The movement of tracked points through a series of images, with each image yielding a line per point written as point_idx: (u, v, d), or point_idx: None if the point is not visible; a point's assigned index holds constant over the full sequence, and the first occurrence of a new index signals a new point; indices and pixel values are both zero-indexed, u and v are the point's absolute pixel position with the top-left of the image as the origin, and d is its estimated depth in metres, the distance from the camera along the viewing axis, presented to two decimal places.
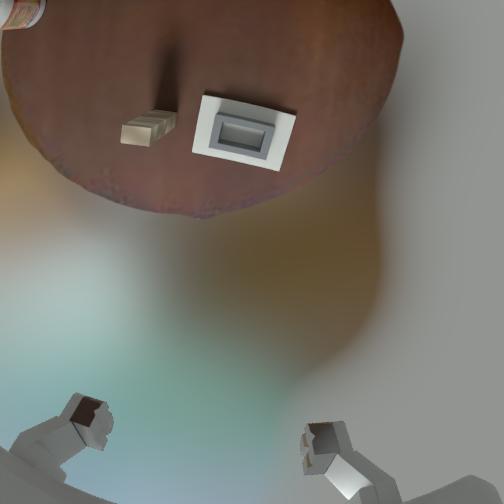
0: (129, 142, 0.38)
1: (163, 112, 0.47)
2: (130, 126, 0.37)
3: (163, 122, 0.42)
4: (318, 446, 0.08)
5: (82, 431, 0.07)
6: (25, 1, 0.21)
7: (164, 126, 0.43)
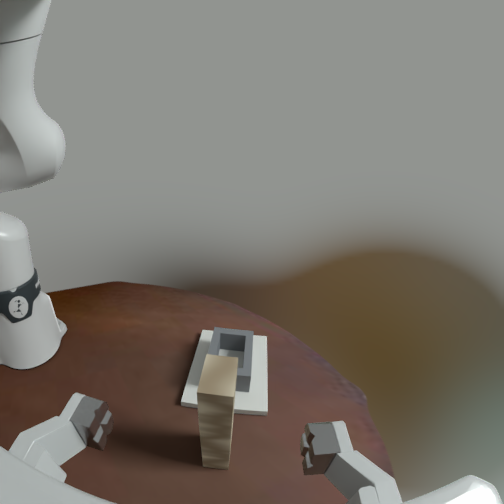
0: (232, 383, 0.22)
1: None
2: (201, 380, 0.22)
3: None
4: (318, 446, 0.08)
5: (82, 431, 0.07)
6: None
7: None
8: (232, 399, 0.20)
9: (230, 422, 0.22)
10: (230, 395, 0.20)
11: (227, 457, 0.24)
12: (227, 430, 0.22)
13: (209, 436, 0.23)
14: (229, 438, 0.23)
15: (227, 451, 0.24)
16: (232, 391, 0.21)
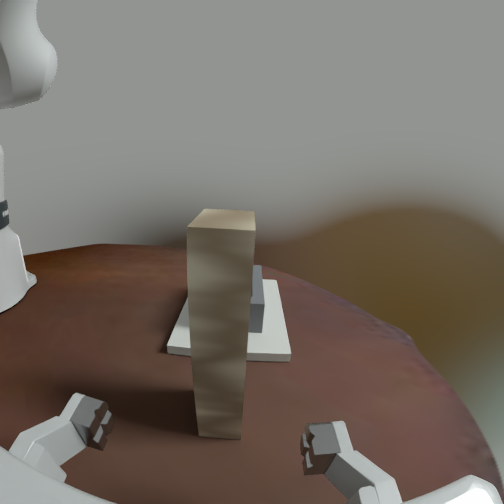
0: (250, 222, 0.14)
1: None
2: (196, 221, 0.14)
3: None
4: (318, 446, 0.08)
5: (82, 431, 0.07)
6: None
7: None
8: (252, 238, 0.12)
9: (247, 309, 0.13)
10: (249, 229, 0.12)
11: (239, 410, 0.16)
12: (240, 335, 0.14)
13: (207, 357, 0.14)
14: (244, 357, 0.14)
15: (240, 395, 0.15)
16: (251, 227, 0.13)
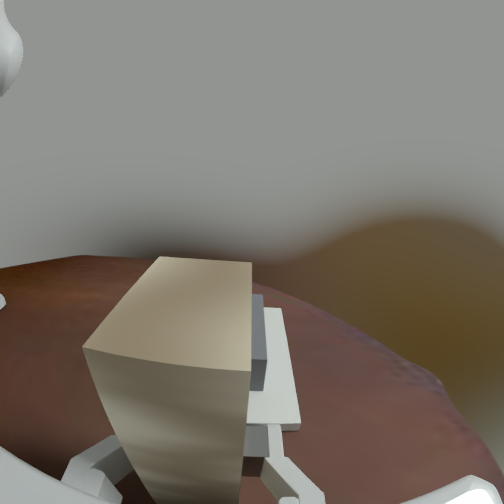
0: (239, 319, 0.06)
1: None
2: (118, 312, 0.06)
3: None
4: (246, 447, 0.08)
5: None
6: None
7: None
8: (243, 386, 0.04)
9: (236, 473, 0.05)
10: (233, 365, 0.04)
11: None
12: (225, 493, 0.06)
13: (176, 501, 0.06)
14: None
15: None
16: (242, 348, 0.05)
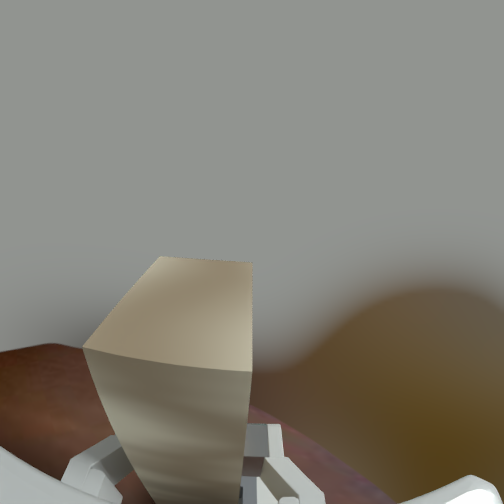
0: (240, 319, 0.06)
1: None
2: (118, 312, 0.05)
3: None
4: (246, 447, 0.08)
5: None
6: None
7: None
8: (244, 387, 0.04)
9: (236, 474, 0.05)
10: (234, 366, 0.04)
11: None
12: (225, 493, 0.06)
13: (176, 501, 0.06)
14: None
15: None
16: (243, 348, 0.05)
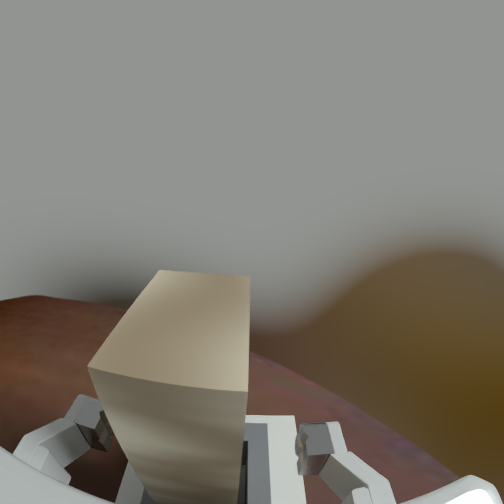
0: (237, 338, 0.06)
1: None
2: (120, 330, 0.06)
3: None
4: (312, 446, 0.08)
5: (87, 433, 0.07)
6: None
7: None
8: (241, 405, 0.04)
9: (234, 481, 0.05)
10: (231, 386, 0.04)
11: None
12: (224, 498, 0.06)
13: None
14: None
15: None
16: (239, 368, 0.05)
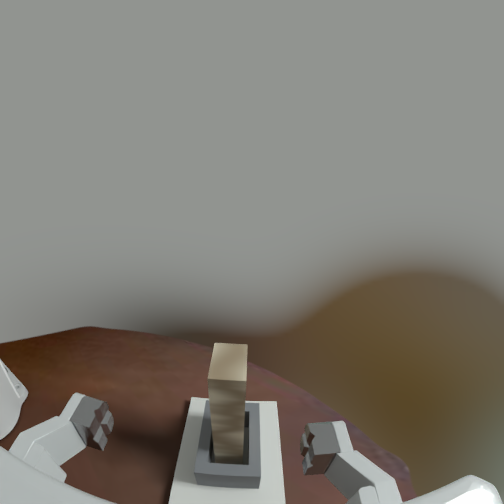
0: (243, 368, 0.22)
1: None
2: (211, 367, 0.22)
3: None
4: (318, 446, 0.08)
5: (82, 431, 0.07)
6: None
7: None
8: (244, 384, 0.20)
9: (243, 411, 0.21)
10: (242, 379, 0.20)
11: (241, 453, 0.24)
12: (240, 421, 0.22)
13: (221, 430, 0.22)
14: (242, 430, 0.22)
15: (241, 446, 0.23)
16: (244, 376, 0.21)
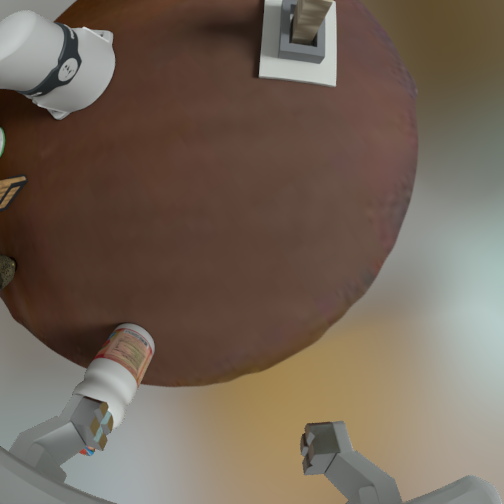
0: None
1: (292, 26, 0.32)
2: None
3: None
4: (318, 446, 0.08)
5: (82, 431, 0.07)
6: (109, 345, 0.43)
7: None
8: (331, 3, 0.21)
9: (324, 16, 0.24)
10: (330, 1, 0.20)
11: (312, 38, 0.31)
12: (319, 21, 0.26)
13: (304, 23, 0.27)
14: (319, 25, 0.27)
15: (313, 34, 0.30)
16: None
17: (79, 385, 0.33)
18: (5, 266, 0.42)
